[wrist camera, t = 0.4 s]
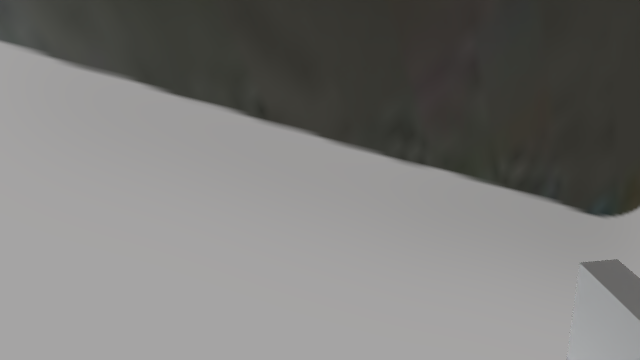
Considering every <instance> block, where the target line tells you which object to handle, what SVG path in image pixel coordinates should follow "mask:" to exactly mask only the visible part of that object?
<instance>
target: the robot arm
mask: <svg viewBox="0 0 640 360" xmlns="http://www.w3.org/2000/svg"><path fill="white" fill-rule="evenodd" d="M567 360H640V278H638V277H637V276H636V275H635V274H634V273H633V272H632V271H630V270H629V269H628V268H627V267H626V266H624V265H623V264H622V263H621V262H620V261H619V260H617V259H616V260H605V261H595V262H583V263H580V264H579V272H578V280H577V287H576V295H575V301H574V309H573V316H572V323H571V331H570V338H569V346H568V353H567Z"/></svg>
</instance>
